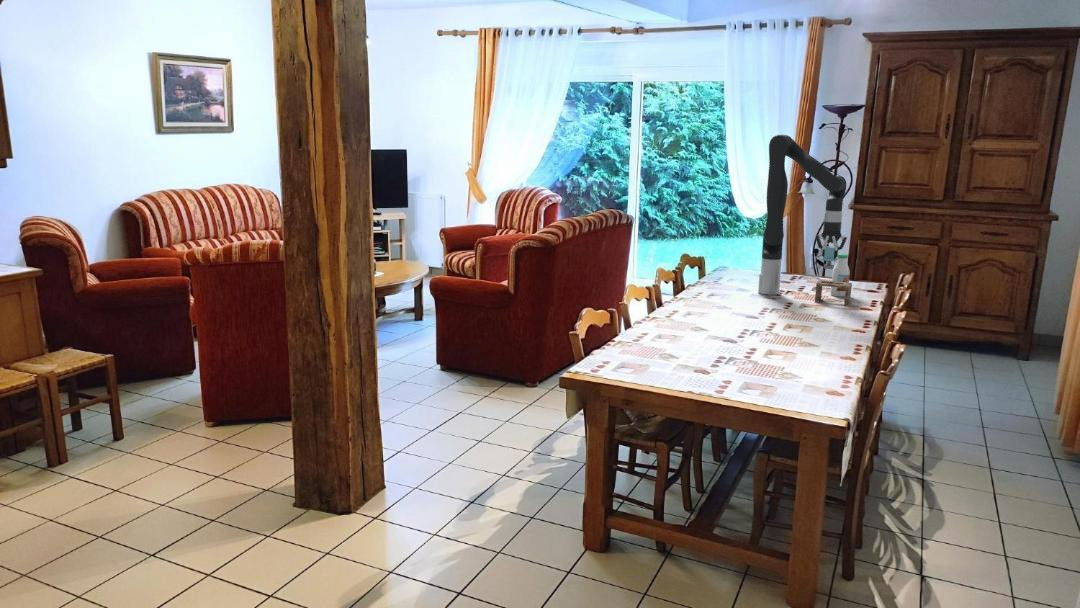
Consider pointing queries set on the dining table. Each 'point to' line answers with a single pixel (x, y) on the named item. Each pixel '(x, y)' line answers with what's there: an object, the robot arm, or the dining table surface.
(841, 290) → the milk bottle
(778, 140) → the robot arm
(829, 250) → the teal peg
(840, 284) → the brown keyhole frame
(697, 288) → the dining table surface
